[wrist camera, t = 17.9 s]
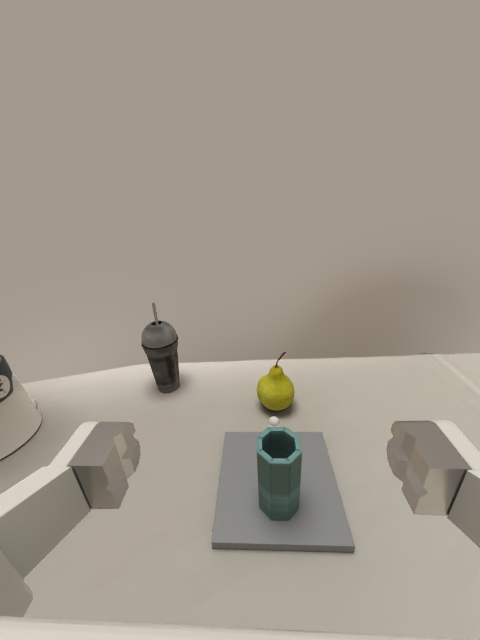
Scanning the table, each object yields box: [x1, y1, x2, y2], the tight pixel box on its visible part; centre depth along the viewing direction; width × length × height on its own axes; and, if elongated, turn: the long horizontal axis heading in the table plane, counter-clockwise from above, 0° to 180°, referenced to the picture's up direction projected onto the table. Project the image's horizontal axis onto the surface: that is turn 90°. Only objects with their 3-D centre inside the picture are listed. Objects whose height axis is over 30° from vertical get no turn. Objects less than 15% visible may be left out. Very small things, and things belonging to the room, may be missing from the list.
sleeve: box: [257, 427, 302, 521], centre depth 33 cm, size 5×5×10 cm
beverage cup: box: [142, 303, 179, 393], centre depth 56 cm, size 7×7×20 cm
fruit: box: [257, 352, 294, 410], centre depth 50 cm, size 7×7×12 cm
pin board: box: [212, 416, 355, 552], centre depth 37 cm, size 16×16×7 cm
